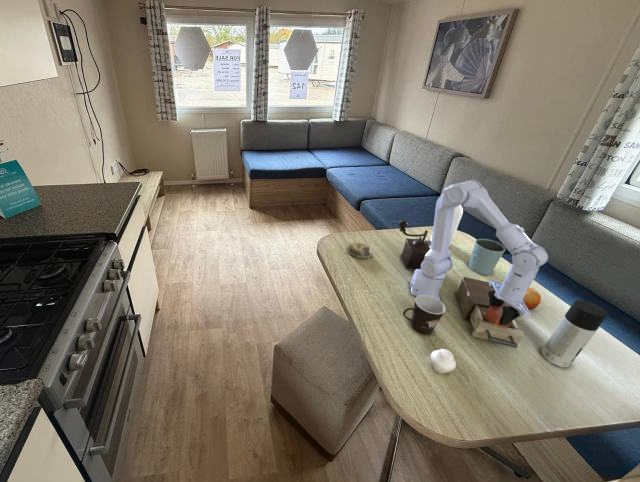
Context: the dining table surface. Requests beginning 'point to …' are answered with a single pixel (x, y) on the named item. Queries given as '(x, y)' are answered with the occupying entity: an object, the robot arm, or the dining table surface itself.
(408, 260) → the manual coffee grinder
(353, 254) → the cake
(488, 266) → the green plant pot
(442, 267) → the robot arm
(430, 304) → the coffee mug
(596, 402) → the dining table surface
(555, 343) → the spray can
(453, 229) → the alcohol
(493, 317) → the block
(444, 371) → the white garlic bulb
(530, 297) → the fruit
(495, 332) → the drawer
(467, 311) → the cabinet
